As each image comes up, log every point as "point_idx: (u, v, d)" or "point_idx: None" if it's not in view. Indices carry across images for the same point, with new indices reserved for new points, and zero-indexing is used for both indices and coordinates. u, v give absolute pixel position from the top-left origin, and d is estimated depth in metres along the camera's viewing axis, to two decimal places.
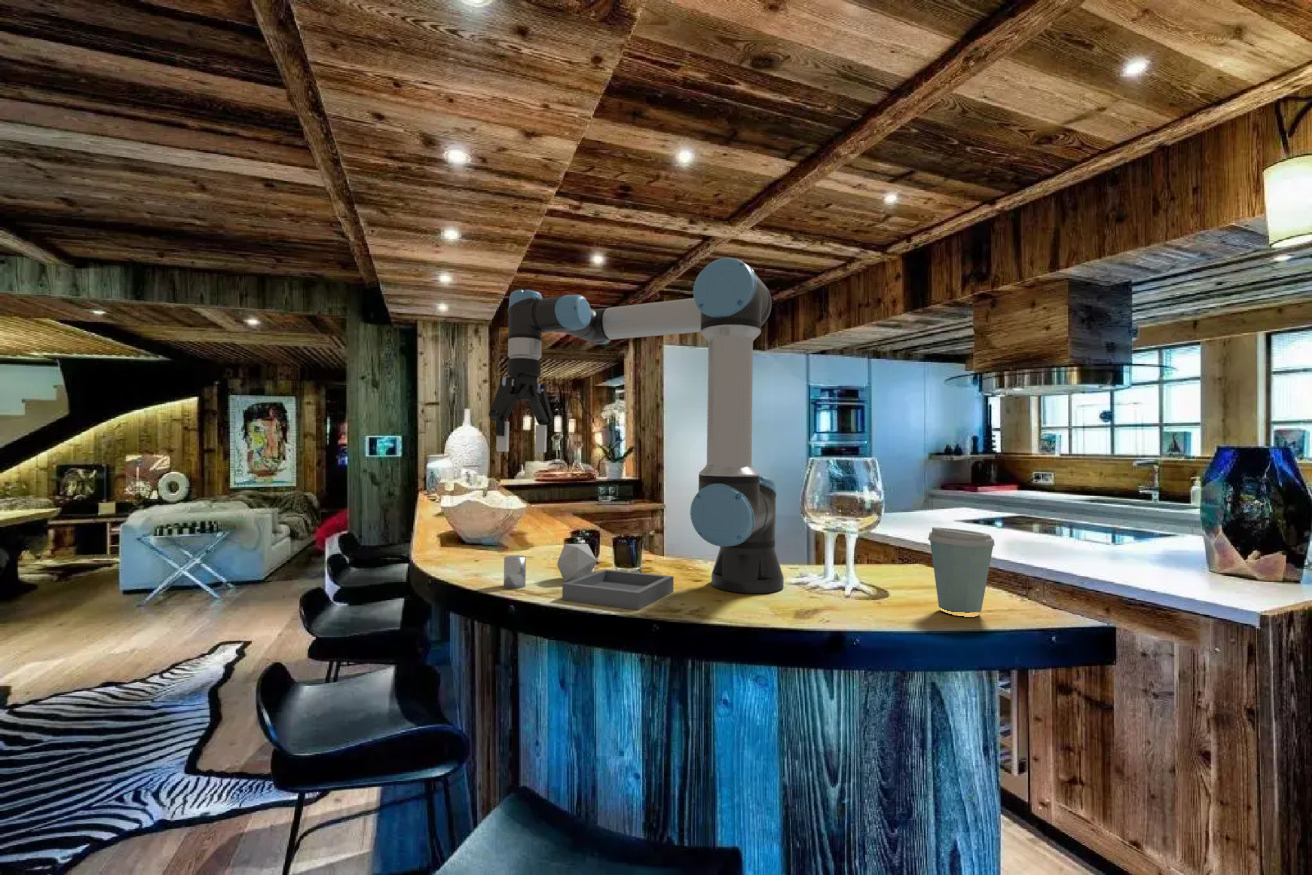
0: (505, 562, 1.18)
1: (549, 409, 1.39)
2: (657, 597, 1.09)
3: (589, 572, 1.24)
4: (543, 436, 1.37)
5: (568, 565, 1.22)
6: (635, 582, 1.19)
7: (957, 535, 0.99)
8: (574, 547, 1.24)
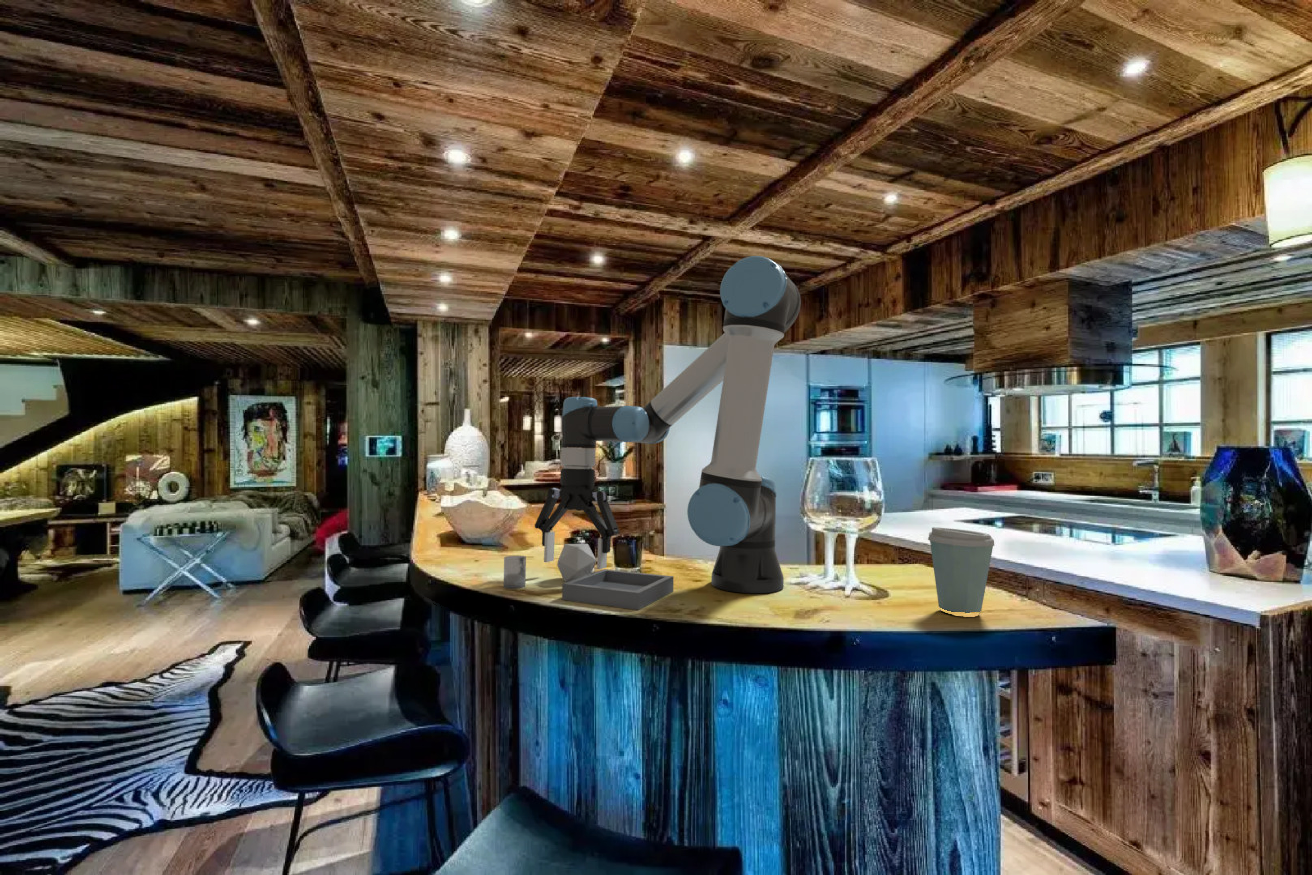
0: (505, 562, 1.18)
1: (607, 520, 1.22)
2: (657, 597, 1.09)
3: (589, 572, 1.24)
4: None
5: (568, 565, 1.22)
6: (635, 582, 1.19)
7: (957, 535, 0.99)
8: (574, 547, 1.24)
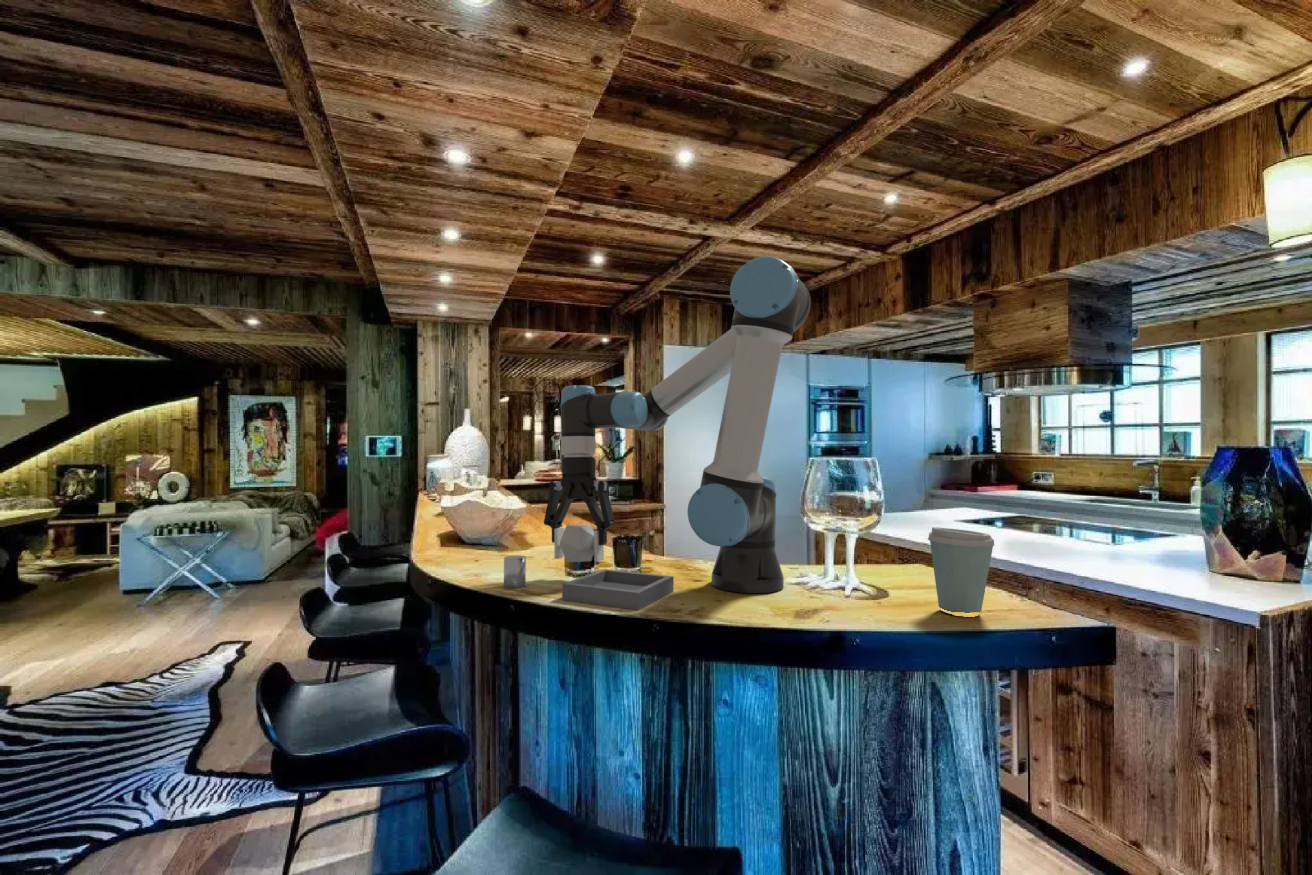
0: (505, 562, 1.18)
1: (604, 511, 1.22)
2: (657, 597, 1.09)
3: (592, 552, 1.24)
4: None
5: (571, 544, 1.22)
6: (635, 582, 1.19)
7: (957, 535, 0.99)
8: (576, 527, 1.24)
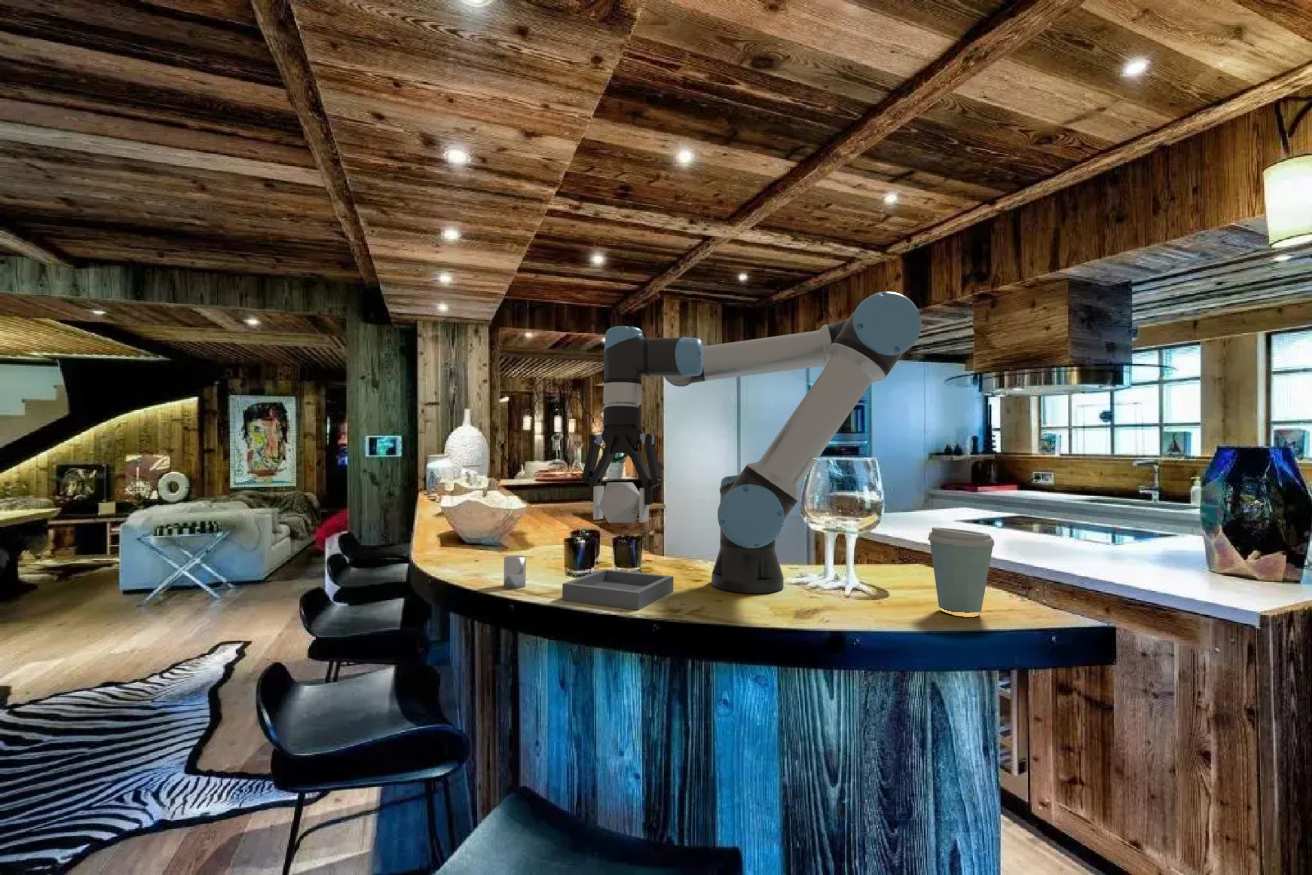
0: (505, 562, 1.18)
1: (652, 467, 1.09)
2: (657, 597, 1.09)
3: (636, 512, 1.11)
4: None
5: (613, 503, 1.09)
6: (635, 582, 1.19)
7: (957, 535, 0.99)
8: (619, 484, 1.11)
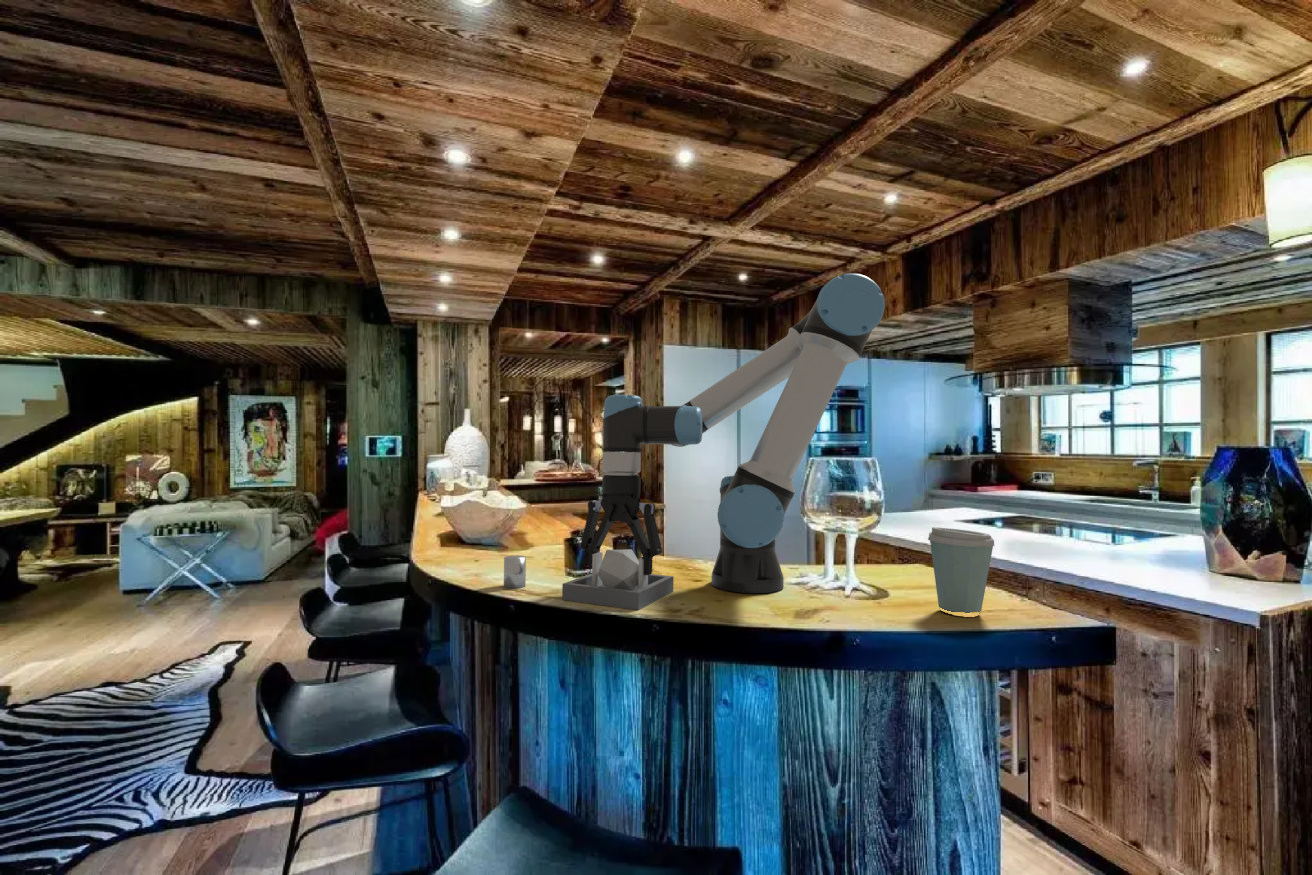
0: (505, 562, 1.18)
1: (651, 537, 1.09)
2: (657, 597, 1.09)
3: (635, 581, 1.11)
4: None
5: (612, 573, 1.09)
6: None
7: (957, 535, 0.99)
8: (618, 553, 1.10)
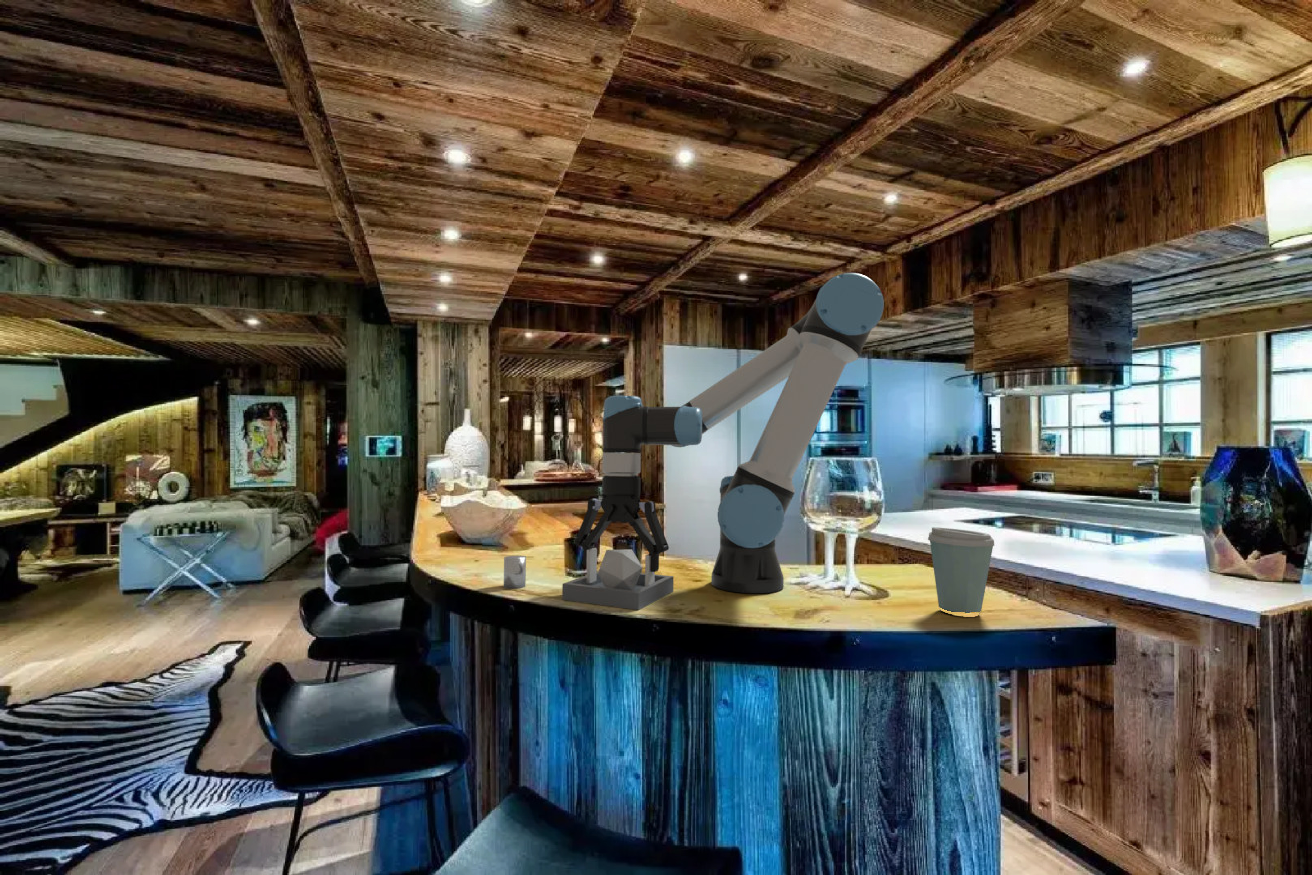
0: (505, 562, 1.18)
1: (655, 535, 1.08)
2: (657, 597, 1.09)
3: (635, 581, 1.11)
4: None
5: (612, 573, 1.09)
6: None
7: (957, 535, 0.99)
8: (618, 553, 1.10)
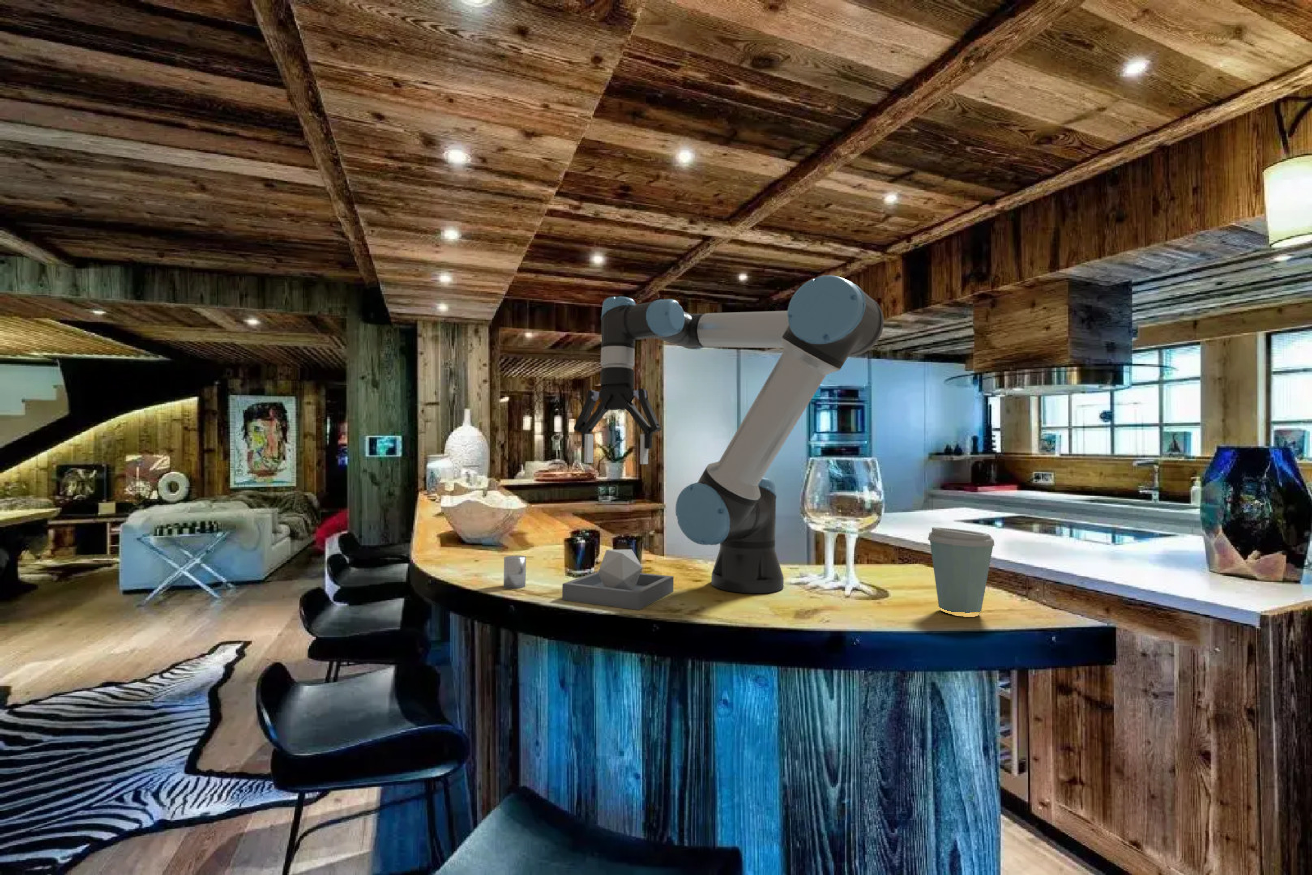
0: (505, 562, 1.18)
1: (649, 416, 1.24)
2: (657, 597, 1.09)
3: (635, 581, 1.11)
4: None
5: (612, 573, 1.09)
6: None
7: (957, 535, 0.99)
8: (618, 553, 1.10)
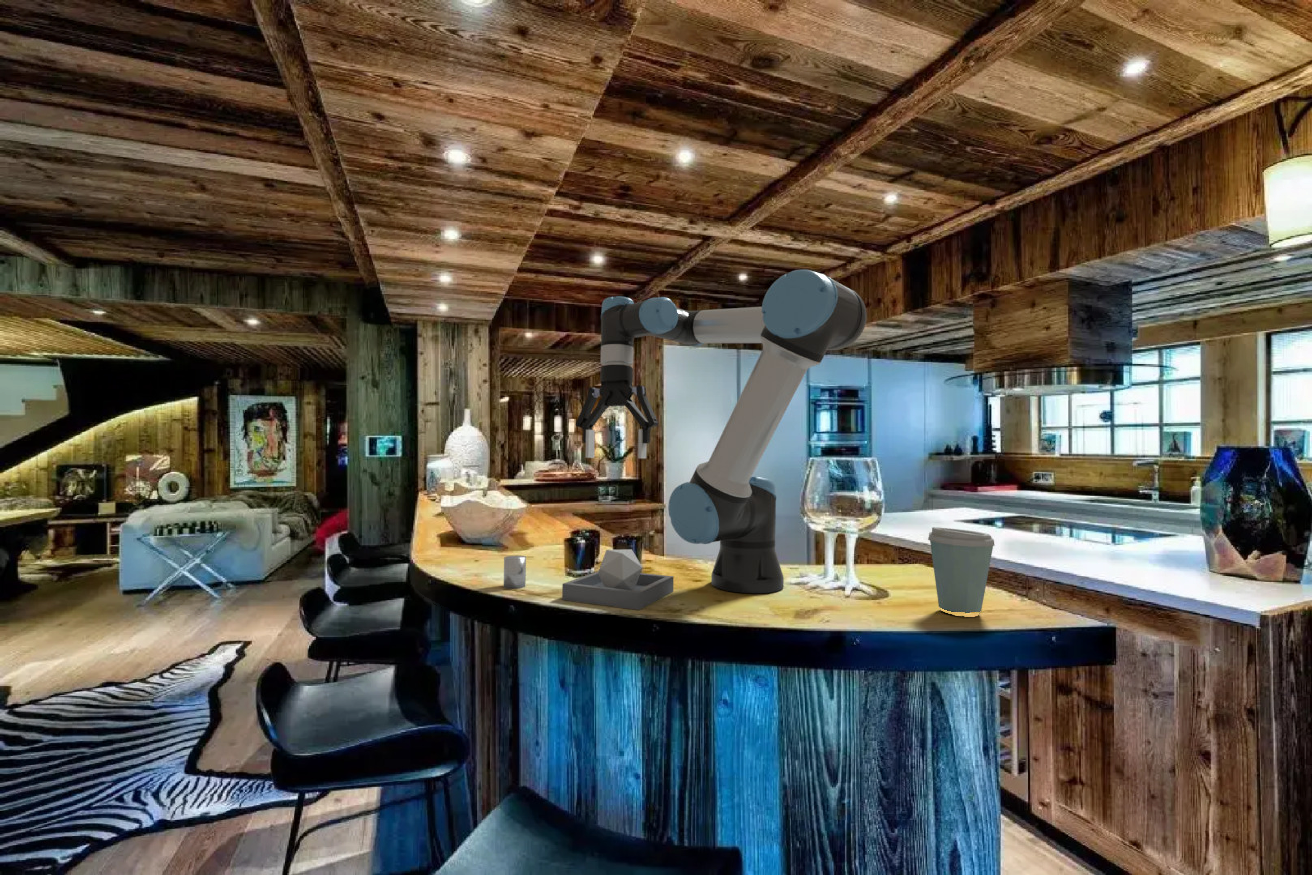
0: (505, 562, 1.18)
1: (646, 411, 1.28)
2: (657, 597, 1.09)
3: (635, 581, 1.11)
4: None
5: (612, 573, 1.09)
6: None
7: (957, 535, 0.99)
8: (618, 553, 1.10)
